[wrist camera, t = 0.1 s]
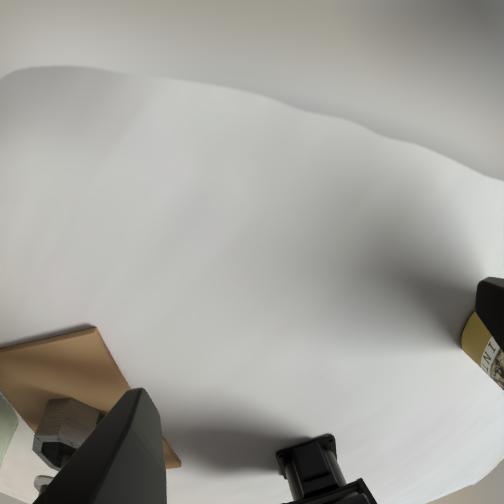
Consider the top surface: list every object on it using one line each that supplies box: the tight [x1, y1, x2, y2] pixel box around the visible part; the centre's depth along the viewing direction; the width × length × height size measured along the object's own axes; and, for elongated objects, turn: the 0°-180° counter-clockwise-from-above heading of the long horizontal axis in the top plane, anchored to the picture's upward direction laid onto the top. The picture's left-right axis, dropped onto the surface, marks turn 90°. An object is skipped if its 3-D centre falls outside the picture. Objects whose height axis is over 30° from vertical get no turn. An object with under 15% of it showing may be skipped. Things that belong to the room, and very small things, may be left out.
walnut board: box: [0, 327, 181, 469], centre depth 24 cm, size 18×14×1 cm
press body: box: [32, 397, 104, 471], centre depth 22 cm, size 7×8×5 cm
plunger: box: [34, 455, 71, 496], centre depth 16 cm, size 4×4×7 cm
